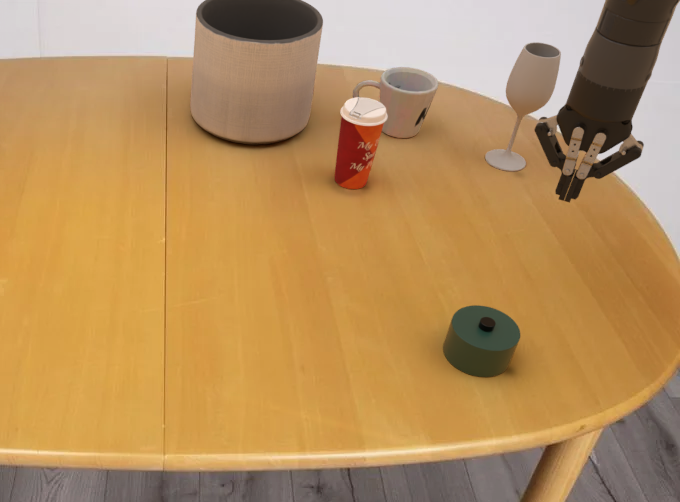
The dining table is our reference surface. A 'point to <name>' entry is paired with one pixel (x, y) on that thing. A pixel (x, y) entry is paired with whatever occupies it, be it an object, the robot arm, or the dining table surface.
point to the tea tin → (481, 341)
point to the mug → (403, 99)
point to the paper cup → (358, 140)
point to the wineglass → (527, 95)
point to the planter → (254, 68)
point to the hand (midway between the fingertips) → (564, 197)
